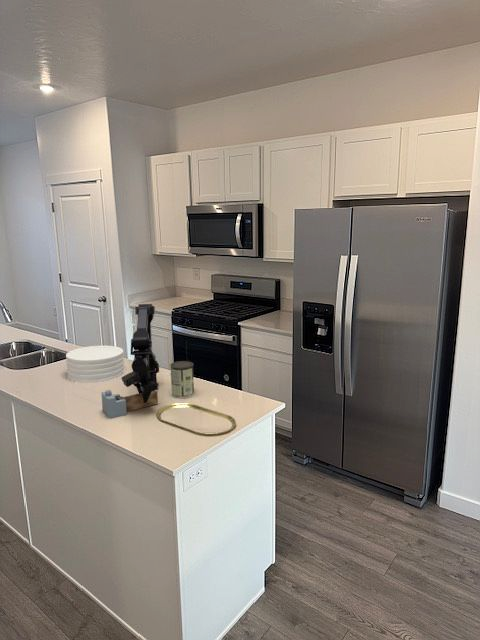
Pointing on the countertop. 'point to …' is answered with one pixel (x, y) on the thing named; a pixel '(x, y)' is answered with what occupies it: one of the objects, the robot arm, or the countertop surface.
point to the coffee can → (182, 379)
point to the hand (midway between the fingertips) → (143, 401)
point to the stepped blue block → (113, 404)
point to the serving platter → (200, 410)
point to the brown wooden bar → (139, 401)
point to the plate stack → (95, 363)
